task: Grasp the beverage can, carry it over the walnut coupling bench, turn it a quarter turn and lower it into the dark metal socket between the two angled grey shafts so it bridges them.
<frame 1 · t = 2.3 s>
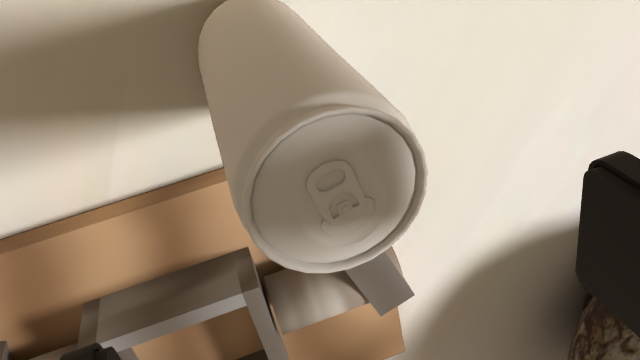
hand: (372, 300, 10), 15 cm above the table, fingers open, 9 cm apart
coupling bench: (193, 313, 28), on the table
beverage can: (251, 48, 22), on the table
vase: (614, 289, 39), on the table
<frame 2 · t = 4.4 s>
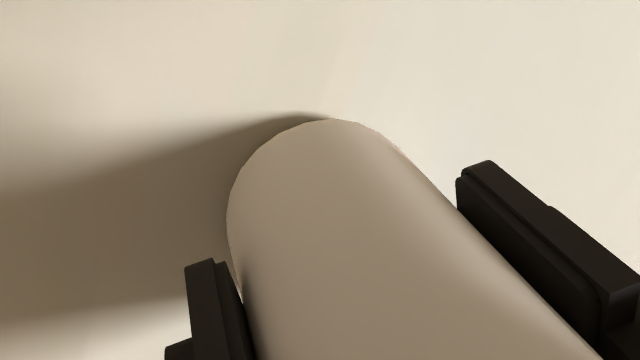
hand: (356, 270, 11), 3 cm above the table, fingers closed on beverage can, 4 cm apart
beverage can: (313, 194, 13), on the table, touching gripper
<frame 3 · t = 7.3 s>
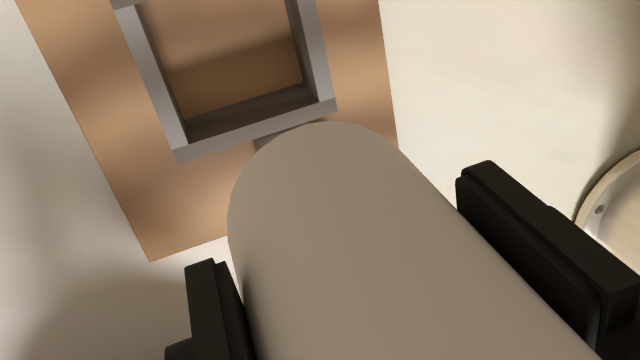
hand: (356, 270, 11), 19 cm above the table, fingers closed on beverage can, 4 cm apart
coupling bench: (222, 34, 27), on the table
beverage can: (314, 196, 13), point 16 cm above the table, touching gripper
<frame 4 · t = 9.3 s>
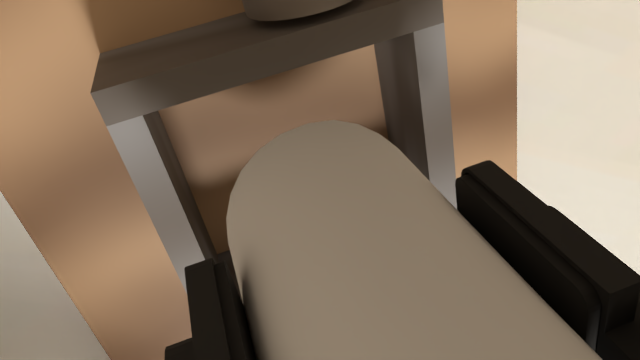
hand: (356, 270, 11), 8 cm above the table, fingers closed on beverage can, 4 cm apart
coupling bench: (278, 125, 17), on the table
beverage can: (314, 196, 13), point 5 cm above the table, touching gripper
when the fingers open (6 cm above the table, at t = 10.6 s): beverage can drops 2 cm, resting on coupling bench.
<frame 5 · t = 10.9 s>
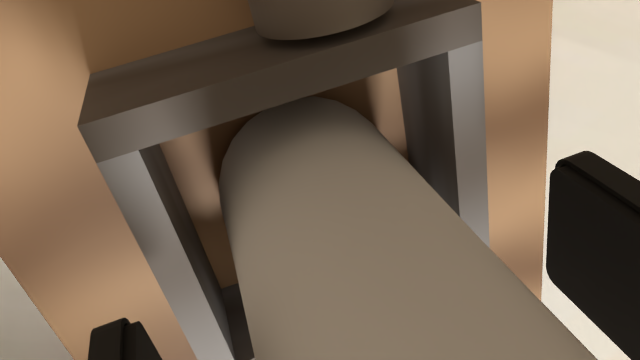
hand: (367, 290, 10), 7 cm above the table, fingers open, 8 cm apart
coupling bench: (288, 147, 16), on the table
beverage can: (298, 167, 15), point 1 cm above the table, touching coupling bench
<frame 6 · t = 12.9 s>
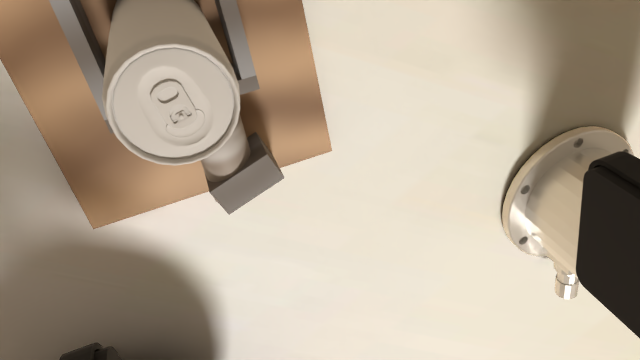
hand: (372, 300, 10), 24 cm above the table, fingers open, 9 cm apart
coupling bench: (156, 17, 29), on the table
beverage can: (158, 24, 28), point 1 cm above the table, touching coupling bench
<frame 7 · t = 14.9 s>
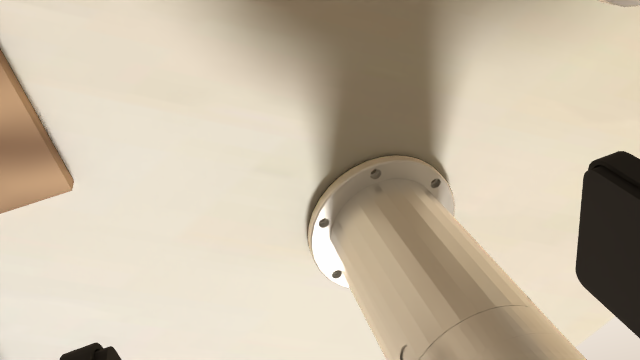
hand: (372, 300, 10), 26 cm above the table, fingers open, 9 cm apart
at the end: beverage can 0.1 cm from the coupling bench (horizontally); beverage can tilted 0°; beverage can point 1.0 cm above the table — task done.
